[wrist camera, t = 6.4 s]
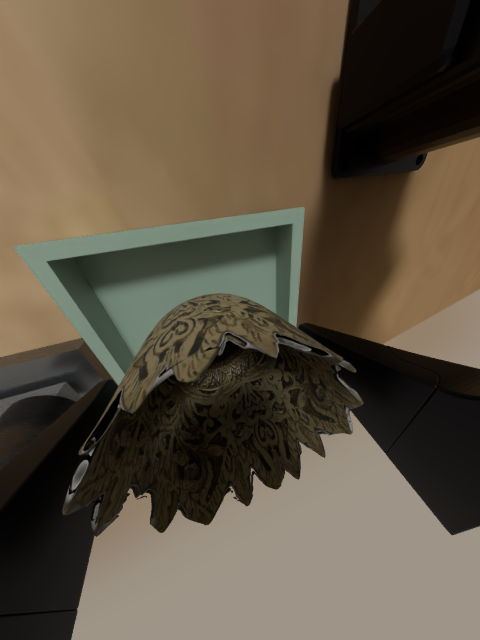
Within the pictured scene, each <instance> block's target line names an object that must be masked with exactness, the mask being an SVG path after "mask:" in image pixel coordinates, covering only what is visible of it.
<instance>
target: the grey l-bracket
mask: <svg viewBox="0 0 480 640" xmlns="http://www.w3.org/2000/svg"><path fill="white" fill-rule="evenodd" d="M107 379H112V380H114V379H113V378H112V376H111V375H110V374H109V372H108V371H107V370H106V368H105V367H104V366H103V364H102V363H101V362H100V361H99V359H98V358H97V357H96V355H95V354H94V353H93V351H92V350H91V349H90V347H89V346H88V345H87V343H86V342H85V341H84V339H83V338H81V339H77V340H73V341H68V342H64V343H60V344H56V345H52V346H47V347H43V348H39V349H35V350H30V351H26V352H22V353H18V354H13V355H9V356H5V357H1V358H0V400H1V399H5V398H9V397H12V396H16V395H20V394H23V393H27V392H30V391H34V390H38V389H41V388H45V387H49V386H52V385H56V384H59V383H63V382H67V383H68V384H69V385H70V386H71V387H72V388H73V389H74V390H75V391H76V392H77V393H78V394H79V395H80V396H81V397H83V396H84V395H85V394H86V393H87V392H88V391H89V390H91V389H92V388H93V387H94V386H95V385H96V384H97V383H99V382H100V381H103V380H107ZM114 382H115V380H114ZM115 383H116V382H115ZM116 384H117V383H116ZM117 386H119V385H118V384H117Z"/></svg>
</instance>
